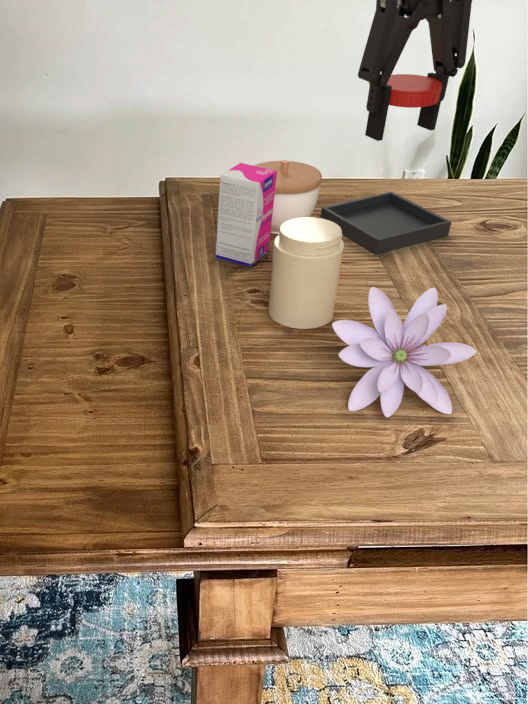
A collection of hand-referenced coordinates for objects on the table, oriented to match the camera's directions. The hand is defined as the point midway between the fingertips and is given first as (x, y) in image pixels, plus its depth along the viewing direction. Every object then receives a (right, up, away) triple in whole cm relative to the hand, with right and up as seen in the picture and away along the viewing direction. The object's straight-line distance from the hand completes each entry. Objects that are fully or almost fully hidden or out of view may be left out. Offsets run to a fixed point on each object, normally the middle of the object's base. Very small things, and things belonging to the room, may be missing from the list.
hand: (400, 132), depth 99 cm
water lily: (-8, -39, -22) cm, 46 cm away
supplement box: (-21, -16, +3) cm, 27 cm away
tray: (0, -10, +9) cm, 13 cm away
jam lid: (0, +4, -4) cm, 6 cm away
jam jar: (-15, -27, -9) cm, 32 cm away
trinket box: (-15, -9, +10) cm, 20 cm away
